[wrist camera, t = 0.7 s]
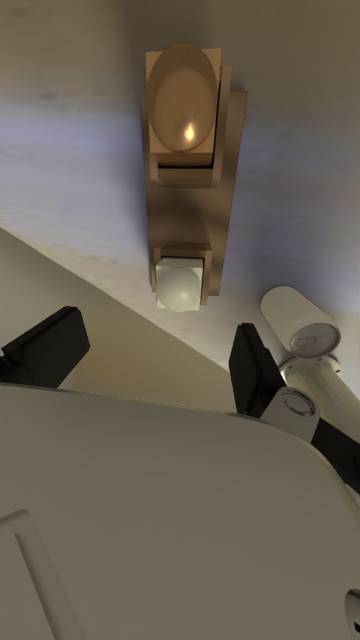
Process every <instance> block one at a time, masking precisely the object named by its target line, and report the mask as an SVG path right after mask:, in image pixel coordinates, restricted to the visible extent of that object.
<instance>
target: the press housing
mask: <svg viewBox="0 0 360 640" xmlns="http://www.w3.org/2000/svg"><path fill="white" fill-rule="evenodd" d="M232 68H233V65H232V66H220V75H219V86H218V101H217V110H216V121H215V133H214V144H213V154H212V160H211V165H210V169H163V168H162V167H161V165H160V164H159V163H158V162H157V160H156V159H155V158H154V157H153V155H152V154H151V153H150V134H149V118H148V114H147V107H146V94H140V103H141V119H142V135H143V151H144V167H145V183H146V200H147V216H148V232H149V248H150V264H151V280H152V292H156V283H157V281H156V265H157V264H158V263H159V262H160V261H161V260H162V259H163V257H164V256H181V257H203V272H202V284H201V295H200V305H207V298H208V295H210V296H219V289H220V282H221V275H222V268H223V261H224V254H225V247H226V240H227V233H228V226H229V219H230V212H231V205H232V198H233V191H234V183H235V176H236V169H237V162H238V155H239V148H240V141H241V134H242V127H243V120H244V113H245V106H246V99H247V92H248V91H230V86H231V77H232ZM145 86H146V89H147V71H146V69H145ZM156 302H157V295H156Z"/></svg>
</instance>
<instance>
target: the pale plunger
mask: <svg viewBox="0 0 360 640" xmlns="http://www.w3.org/2000/svg"><path fill="white" fill-rule="evenodd" d="M202 272H203V257H181V256H164V257H163V259H162V260H161V261H160V262H159V263H158V264H157V265H156V281H157V283H156V295H157V302H158V308H168V309H170V310H172V311H178V312H181V311H186V310H198V311H199V307H200V295H201V284H202Z"/></svg>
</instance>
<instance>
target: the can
mask: <svg viewBox="0 0 360 640" xmlns="http://www.w3.org/2000/svg"><path fill="white" fill-rule="evenodd" d="M260 307H261V311H262V313H263V314H264V316H265V318H266V319H267V321H268V323H269V324H270V326H271V327H272V329H273V331H274V332H275V334H276V335H277V337H278V338H279V340H280V341H281V343H282V344H283V346H284V347H285V348H286V349H287V350H288V351H290V352H292V354H293V355H295V356H296V357H298V358H301V359H307V360H310V359H317V358H321V357H323V356H326V355H328V354H329V353H331V352H332V351H333V350H334V349H335V348H336V347H337V346H338V344H339V343H340V340H341V334H340V331H339V330H338V328H337V327H336V324H335V322H334V321H333V320H332V319H331V318H330V317H329V316H328V315H327V314H325V313H324V312H323V311H322V310H320V309H319V308H318V307H317V306H315V305H314V304H313V303H312V302H310V301H309V300H308V299H306V298H305V297H304V296H303V295H301V294H300V293H299V292H297V291H296V290H295V289H293V288H291V287H288V286H280V287H276V288H273V289H271V290H270V291H268V292H267V293H266V294H265V295H264V297H263V298H262V301H261V305H260Z"/></svg>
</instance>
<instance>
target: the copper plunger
mask: <svg viewBox="0 0 360 640" xmlns="http://www.w3.org/2000/svg"><path fill="white" fill-rule="evenodd" d="M221 52H222V48H213V49H200V48H199V47H197V46H195V45H193V44H191V43H186V42H181V43H176V44H173V45H171V46H170V47H168V48H167V49H165V50H164V51H152V52H146V71H147V89H146V107H147V114H148V118H149V134H150V153H151V154H152V155H153V157H154V158H155V159H156V160H157V162H158V163H159V164H160V165H161V167H162V168H163V169H210V165H211V160H212V154H213V144H214V133H215V121H216V110H217V101H218V86H219V75H220V63H221Z"/></svg>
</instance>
